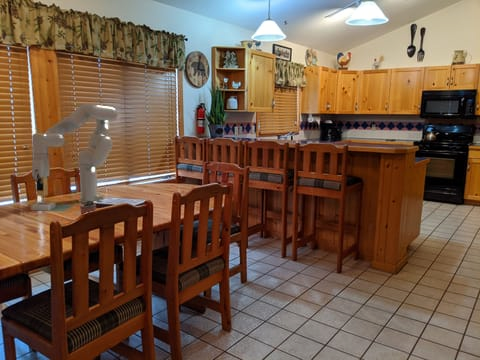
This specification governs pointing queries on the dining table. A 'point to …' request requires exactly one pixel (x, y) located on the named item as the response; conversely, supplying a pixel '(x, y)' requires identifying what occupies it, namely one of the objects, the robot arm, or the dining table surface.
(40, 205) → the board
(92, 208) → the lighter
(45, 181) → the plug
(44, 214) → the dining table surface
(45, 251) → the dining table surface
